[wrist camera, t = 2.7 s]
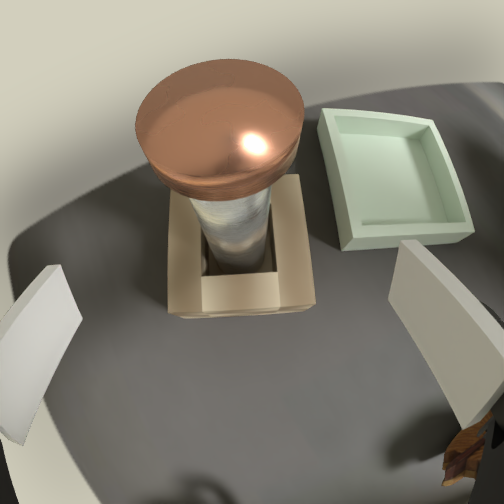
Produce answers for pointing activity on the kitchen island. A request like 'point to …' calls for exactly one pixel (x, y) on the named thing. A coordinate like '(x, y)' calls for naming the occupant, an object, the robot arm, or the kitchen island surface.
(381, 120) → the tray
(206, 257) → the block
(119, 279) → the kitchen island surface
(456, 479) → the wooden carving
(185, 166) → the pin
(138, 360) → the kitchen island surface
